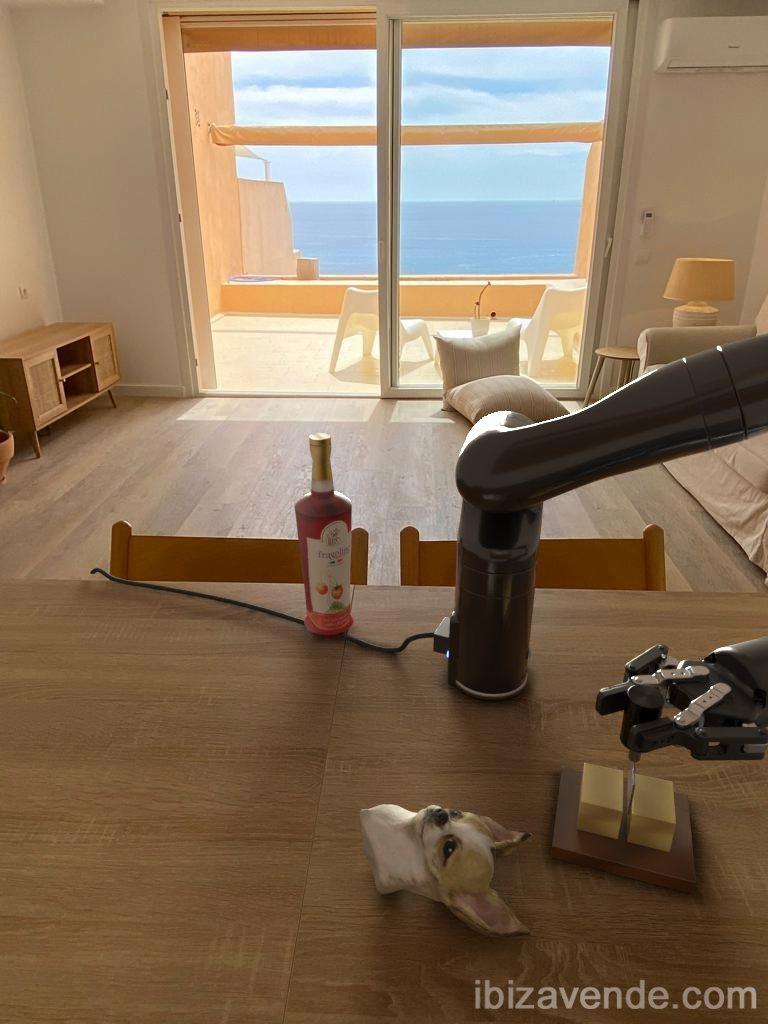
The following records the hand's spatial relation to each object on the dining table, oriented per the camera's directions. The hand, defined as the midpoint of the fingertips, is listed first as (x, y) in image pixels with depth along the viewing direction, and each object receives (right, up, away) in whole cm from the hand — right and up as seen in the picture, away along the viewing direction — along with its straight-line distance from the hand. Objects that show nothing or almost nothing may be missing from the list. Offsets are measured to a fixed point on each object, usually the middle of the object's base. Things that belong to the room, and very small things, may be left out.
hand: (615, 721), depth 59 cm
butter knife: (+3, -7, +4) cm, 9 cm away
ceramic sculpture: (-14, -15, +2) cm, 21 cm away
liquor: (-27, +1, +38) cm, 46 cm away
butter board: (+3, -12, +7) cm, 14 cm away
